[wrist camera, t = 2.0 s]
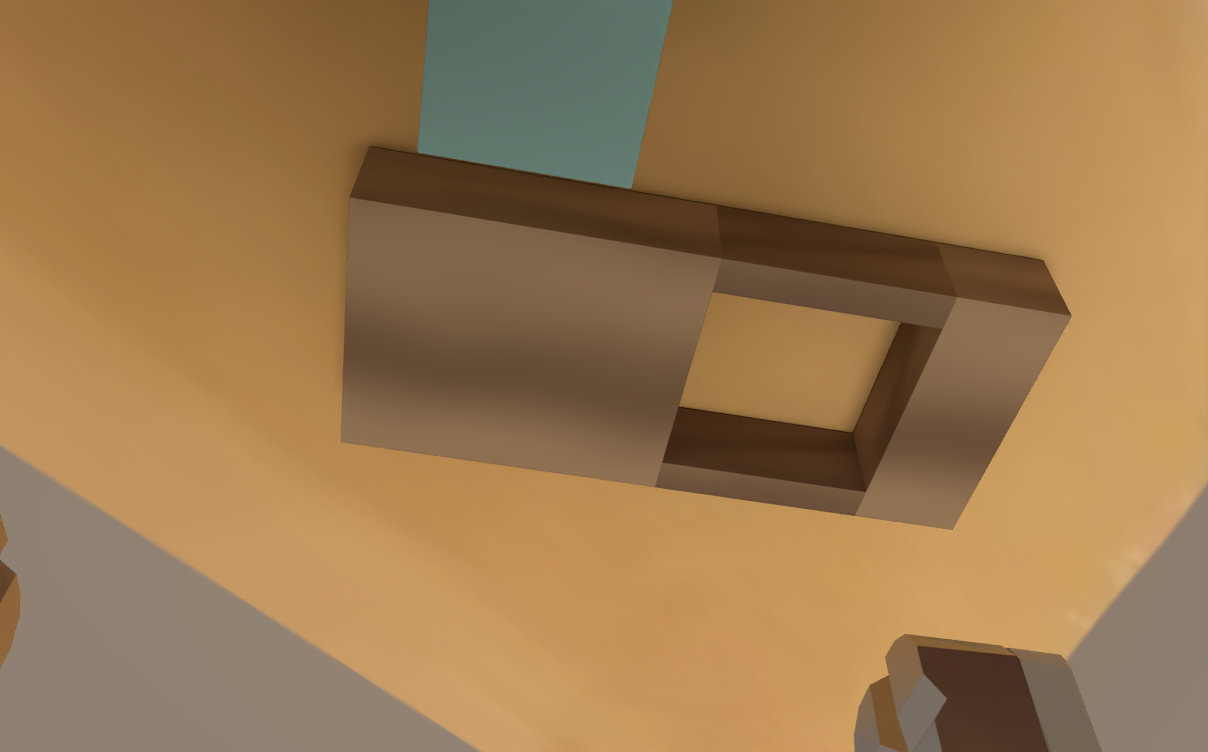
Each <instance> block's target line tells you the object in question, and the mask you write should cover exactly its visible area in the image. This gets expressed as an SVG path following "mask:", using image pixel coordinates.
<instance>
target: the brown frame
mask: <svg viewBox="0 0 1208 752" xmlns="http://www.w3.org/2000/svg"><path fill="white" fill-rule="evenodd" d="M712 292H717V293H723V294H729V295H735V296H742V297H748V298H754V299H760V300H766V301H773V302H779V303H785V304H791V305H797V306H804V307H810V308H816V309H822V310H828V311H835V312H841V313H847V314H853V315H859V316H866V317H872V318H878V319H884V320H890V321H897V322H902V323H901V325H900V327H899V330H898V332H897V334H896V336H895V339H894V341H893V343H892V346H891V348H890V350H889V352H888V355H887V357H886V359H885V362H884V364H883V366H882V368H881V371H880V373H879V375H878V378H877V380H876V382H875V384H874V387H873V389H872V391H871V394H870V396H869V398H868V400H867V403H866V405H865V407H864V410H863V412H862V414H861V416H860V419H859V421H858V423H857V426H856V428H855V430H854V432H853V434H852V433H845V432H839V431H832V430H825V429H819V428H812V427H806V426H799V425H792V424H786V423H779V422H772V421H766V420H759V419H752V418H746V417H739V416H733V415H726V414H719V413H713V412H706V411H699V410H693V409H686V408H679V407H678V406H679V403H680V400H681V396H682V393H683V389H684V386H685V383H686V379H687V376H688V373H689V369H690V366H691V362H692V359H693V356H694V352H695V349H696V345H697V342H698V339H699V335H700V332H701V328H702V325H703V322H704V318H705V315H706V311H707V308H708V305H709V301H710V298H711V294H712ZM1071 317H1072V316H1071V314H1070V312H1069V310H1068V308H1067V306H1066V304H1065V302H1064V300H1063V298H1062V296H1061V294H1060V292H1059V290H1058V288H1057V286H1056V284H1055V282H1054V280H1053V278H1052V276H1051V274H1050V272H1049V271H1048V269H1047V267H1046V265H1045V263H1044V261H1042V260H1036V259H1030V258H1024V257H1018V256H1013V255H1007V254H1001V253H995V252H989V251H983V250H977V249H971V248H965V247H959V246H953V245H947V244H941V243H936V242H930V241H924V240H918V239H912V238H906V237H900V236H894V235H888V234H882V233H876V232H870V231H864V230H859V229H853V228H847V227H841V226H835V225H829V224H823V223H817V222H811V221H805V220H799V219H793V218H788V217H782V216H776V215H770V214H764V213H758V212H752V211H746V210H740V209H734V208H728V207H722V206H716V205H711V204H705V203H699V202H693V201H687V200H681V199H675V198H669V197H663V196H657V195H651V194H645V193H639V192H634V191H628V190H622V189H616V188H610V187H604V186H598V185H592V184H586V183H580V182H574V181H568V180H563V179H557V178H551V177H545V176H539V175H533V174H527V173H521V172H515V171H509V170H503V169H497V168H491V167H486V166H480V165H474V164H468V163H462V162H456V161H450V160H444V159H438V158H432V157H426V156H420V155H414V154H409V153H403V152H397V151H391V150H385V149H379V148H373V147H369V149H368V152H367V154H366V157H365V159H364V162H363V164H362V167H361V170H360V172H359V175H358V177H357V180H356V182H355V185H354V187H353V190H352V193H351V195H350V200H349V227H348V255H347V282H346V310H345V337H344V365H343V392H342V420H341V442H344V443H351V444H358V445H365V446H372V447H379V448H385V449H392V450H399V451H406V452H413V453H420V454H427V455H434V456H441V457H448V458H455V459H462V460H469V461H476V462H483V463H490V464H497V465H504V466H511V467H518V468H525V469H532V470H539V471H546V472H553V473H560V474H567V475H574V476H581V477H588V478H595V479H602V480H608V481H615V482H622V483H629V484H636V485H643V486H650V487H657V488H664V489H671V490H678V491H685V492H692V493H699V494H706V495H713V496H720V497H727V498H734V499H741V500H748V501H755V502H762V503H769V504H776V505H783V506H790V507H797V508H804V509H811V510H818V511H824V512H831V513H838V514H845V515H852V516H859V517H866V518H873V519H880V520H887V521H894V522H901V523H908V524H915V525H922V526H929V527H936V528H943V529H950V530H953V528H954V526H955V525H956V523H957V521H958V519H959V517H960V516H961V514H962V512H963V510H964V508H965V507H966V505H967V503H968V501H969V499H970V498H971V496H972V494H973V492H974V490H975V489H976V487H977V485H978V483H979V481H980V480H981V478H982V476H983V474H984V473H985V471H986V469H987V467H988V465H989V464H990V462H991V460H992V458H993V456H994V455H995V453H996V451H997V449H998V447H999V446H1000V444H1001V442H1002V440H1003V438H1004V437H1005V435H1006V433H1007V431H1008V430H1009V428H1010V426H1011V424H1012V422H1013V421H1014V419H1015V417H1016V415H1017V413H1018V412H1019V410H1020V408H1021V406H1022V404H1023V403H1024V401H1025V399H1026V397H1027V395H1028V394H1029V392H1030V390H1031V388H1032V386H1033V385H1034V383H1035V381H1036V379H1037V378H1038V376H1039V374H1040V372H1041V370H1042V369H1043V367H1044V365H1045V363H1046V361H1047V360H1048V358H1049V356H1050V354H1051V352H1052V351H1053V349H1054V347H1055V345H1056V343H1057V342H1058V340H1059V338H1060V336H1061V334H1062V333H1063V331H1064V329H1065V327H1066V326H1067V324H1068V322H1069V320H1070V318H1071Z"/></svg>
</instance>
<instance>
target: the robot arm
mask: <svg viewBox="0 0 1208 752" xmlns="http://www.w3.org/2000/svg"><path fill="white" fill-rule="evenodd" d="M7 541H8V538H7V535H6V532H5V528H4V526H3V522H2V519H1V515H0V554H1V552H2V550H3V548H4V547H5V545H6V543H7ZM19 616H20V589H19V584H18V580H17V575H16V573H15V572H13V571H12V570H11V569H10V568H9V567H8V566H6V565H5V564H4V563H3V562H2V561H1V560H0V668H1V666H2V664H3V662H4V660H5V658H6V656H7V654H8V652H9V650H10V648H11V645H12V641H13V638H14V634H15V630H16V627H17V624H18V620H19ZM885 658H886V663H887V668H888V673H889V675H888V676H886V677H884V678H882V679H880V680H879V681H877V682H875V683H873V684H871V685H869V687H868V689H867V691H866V694H865V696H864V698H863V700H862V702H861V704H860V706H859V710H858V715H857V721H856V727H855V732H854V747H855V752H1102V750H1101V748H1100V745H1099V743H1098V740H1097V737H1096V734H1095V731H1094V729H1093V726H1092V723H1091V721H1090V718H1089V715H1088V713H1087V710H1086V707H1085V705H1084V702H1083V699H1082V696H1081V694H1080V691H1079V689H1078V686H1077V683H1076V680H1075V678H1074V675H1073V672H1072V670H1071V667H1070V665H1069V664H1068V663H1067V661H1066V660H1065V659H1064V658H1063V657H1062V656H1061V655H1058V654H1051V653H1044V652H1036V651H1029V650H1021V649H1014V648H1004V647H1003V646H1000V645H991V644H983V643H975V642H967V641H958V640H950V639H942V638H934V637H925V636H917V635H909V634H904V635H903V636H901V637H900V638H898V639H896V640H895V641H894V643H893V644H892V646H891V648H890V650H889V651H888V653H887V655H886V657H885Z"/></svg>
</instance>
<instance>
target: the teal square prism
mask: <svg viewBox="0 0 1208 752" xmlns="http://www.w3.org/2000/svg"><path fill="white" fill-rule="evenodd" d="M672 4H673V0H429V12H428V24H427V37H426V50H425V62H424V75H423V88H422V101H421V113H420V126H419V139H418V151H417V153H423V154H429V155H435V156H441V157H447V158H453V159H458V160H464V161H470V162H476V163H482V164H488V165H494V166H500V167H506V168H512V169H518V170H523V171H529V172H535V173H541V174H547V175H553V176H559V177H565V178H571V179H577V180H583V181H588V182H594V183H600V184H606V185H612V186H618V187H624V188H630V189H632V184H633V180H634V175H635V171H636V166H637V162H638V157H639V153H640V148H641V144H642V139H643V135H644V130H645V126H646V121H647V117H648V112H649V108H650V103H651V98H652V94H653V89H654V85H655V80H656V76H657V71H658V67H659V62H660V58H661V53H662V49H663V44H664V40H665V35H666V31H667V26H668V22H669V17H670V13H671V8H672Z"/></svg>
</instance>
